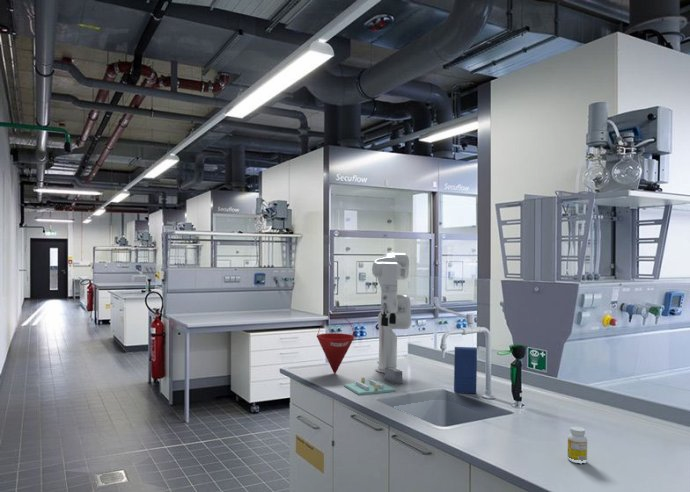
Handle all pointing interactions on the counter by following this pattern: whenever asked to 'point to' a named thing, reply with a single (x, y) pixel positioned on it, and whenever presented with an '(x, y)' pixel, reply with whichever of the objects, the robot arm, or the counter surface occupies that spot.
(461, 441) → the counter surface
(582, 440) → the supplement bottle
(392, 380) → the block
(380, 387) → the docking tray
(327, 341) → the fire bucket
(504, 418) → the counter surface
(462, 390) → the electronic device
